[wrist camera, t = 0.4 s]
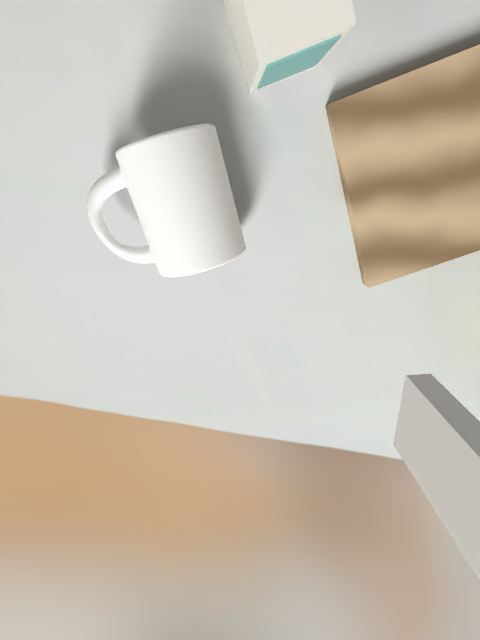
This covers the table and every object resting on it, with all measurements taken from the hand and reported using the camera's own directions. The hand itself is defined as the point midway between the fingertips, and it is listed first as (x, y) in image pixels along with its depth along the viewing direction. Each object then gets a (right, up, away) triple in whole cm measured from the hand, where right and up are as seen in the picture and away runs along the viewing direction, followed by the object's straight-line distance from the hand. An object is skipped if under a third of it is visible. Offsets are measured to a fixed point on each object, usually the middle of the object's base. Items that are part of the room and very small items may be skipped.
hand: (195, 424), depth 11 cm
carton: (+4, +26, +17) cm, 31 cm away
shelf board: (+20, +17, +21) cm, 34 cm away
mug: (-5, +14, +22) cm, 26 cm away
